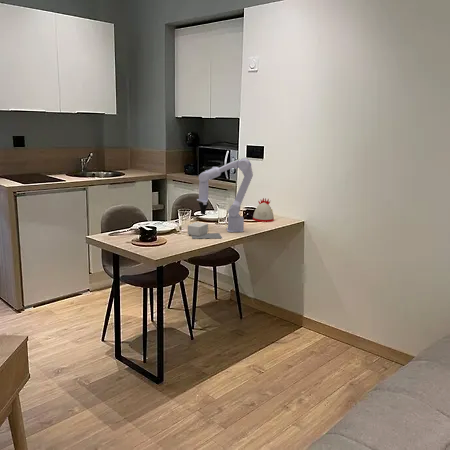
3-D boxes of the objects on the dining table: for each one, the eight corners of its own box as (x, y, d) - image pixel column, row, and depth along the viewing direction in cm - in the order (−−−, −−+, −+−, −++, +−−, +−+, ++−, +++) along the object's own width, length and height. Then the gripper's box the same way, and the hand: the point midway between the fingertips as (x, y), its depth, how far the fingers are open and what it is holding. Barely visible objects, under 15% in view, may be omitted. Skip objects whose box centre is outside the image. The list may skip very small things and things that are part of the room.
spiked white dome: (271, 223, 312) (272, 200, 308) (250, 221, 315) (252, 198, 312) (275, 218, 325) (276, 197, 321) (255, 216, 328) (256, 195, 325)
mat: (219, 233, 280) (219, 233, 280) (222, 238, 270) (222, 237, 270) (190, 234, 277) (190, 233, 277) (192, 239, 267) (192, 238, 267)
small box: (196, 230, 284) (187, 234, 275) (196, 221, 282) (187, 225, 273) (208, 232, 280) (199, 236, 271) (208, 223, 279) (199, 227, 270)
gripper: (195, 190, 292) (194, 211, 295) (198, 194, 278) (198, 216, 281) (206, 190, 293) (206, 211, 297) (210, 194, 279) (209, 216, 283)
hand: (203, 214), depth 289 cm, fingers closed
